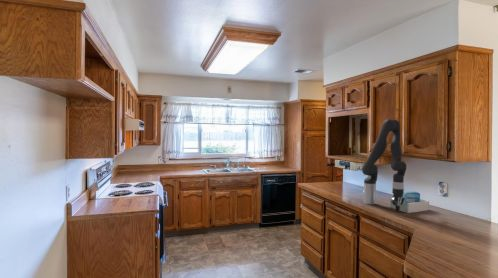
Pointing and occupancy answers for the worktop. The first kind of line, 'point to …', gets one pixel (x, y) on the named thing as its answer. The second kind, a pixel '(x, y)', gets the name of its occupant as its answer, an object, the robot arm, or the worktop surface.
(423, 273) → the worktop surface
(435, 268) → the worktop surface
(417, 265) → the worktop surface
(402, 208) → the drawer
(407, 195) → the data package
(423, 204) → the cubby
